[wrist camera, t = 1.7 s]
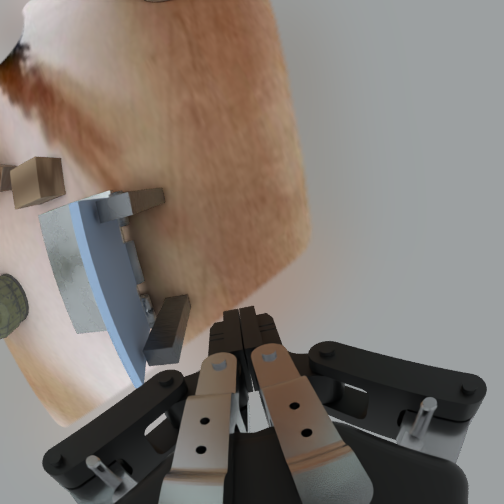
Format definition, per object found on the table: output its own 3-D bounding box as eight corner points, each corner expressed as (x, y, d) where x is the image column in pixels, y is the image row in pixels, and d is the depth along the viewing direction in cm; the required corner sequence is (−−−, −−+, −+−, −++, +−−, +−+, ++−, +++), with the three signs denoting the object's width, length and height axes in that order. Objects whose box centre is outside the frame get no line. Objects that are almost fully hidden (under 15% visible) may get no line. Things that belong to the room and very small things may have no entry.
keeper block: (36, 170, 27) (10, 170, 21) (60, 158, 27) (35, 156, 22) (41, 203, 28) (15, 209, 23) (66, 193, 29) (40, 197, 23)
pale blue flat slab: (68, 204, 15) (88, 197, 16) (111, 198, 28) (124, 194, 29) (135, 388, 20) (153, 385, 20) (145, 320, 33) (157, 317, 33)
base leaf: (42, 214, 29) (-15, 231, 17) (160, 176, 30) (125, 175, 18) (79, 330, 34) (43, 377, 22) (193, 315, 34) (182, 373, 23)
